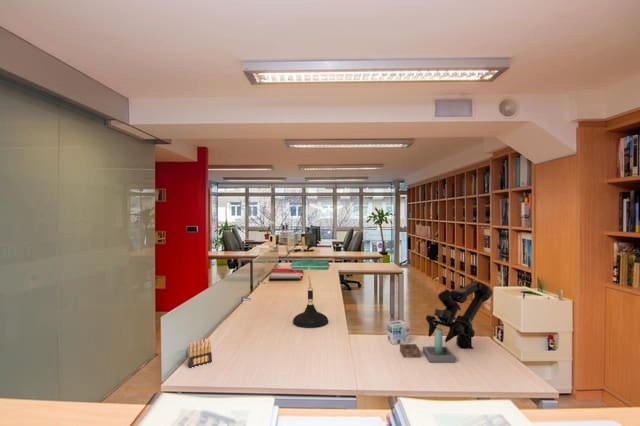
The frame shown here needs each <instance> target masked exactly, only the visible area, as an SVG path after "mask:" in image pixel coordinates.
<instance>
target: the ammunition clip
mask: <svg viewBox="0 0 640 426" xmlns="http://www.w3.org/2000/svg"><path fill="white" fill-rule="evenodd" d="M188 345H189V346H188V357H187V358H188V362H187V363H188V364H187V367H189V368H190V369H193V368H196V367H195V366H197V367H200V366H199V365H201V366H204V365H208V364H212V363H213V355H212V341H211V337H208V340H207V337H205V339H204V340H203V338H201V341H200V340H199V339H197V342H196V340H194V341H193V342H192V341H189V344H188ZM211 362H212V363H211ZM207 363H208V364H207ZM203 364H204V365H203ZM192 367H193V368H192ZM189 368H188V369H189Z"/></svg>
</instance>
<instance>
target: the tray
mask: <svg viewBox="0 0 640 426" xmlns="http://www.w3.org/2000/svg"><path fill="white" fill-rule="evenodd" d="M422 354H423V355H424V357H425V358H426V359H427V361H428V362H429V363H430V364H432V363H435V364H439V363H441V364H452V363H453V364H454V363H456V356H455V354H454V353H453V352H452V351H451V350H450V348H449V347H448V346H442V356H435V346H422Z"/></svg>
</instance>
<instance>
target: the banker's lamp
mask: <svg viewBox="0 0 640 426" xmlns="http://www.w3.org/2000/svg"><path fill="white" fill-rule="evenodd" d="M329 262H330V261H328V260H320V259H319V260H316V259H315V260H314V259H313V260H308V259H307V260H292V261H291V264H290V265H289V267H290V268H291V271H292V270H293V271H307V278H308V282H309V285H308V287H307V301H308V302H307V304H306V307H305V308H304V311H303V312H301V313H298V314H296V316H294V317H293V320H292V324H293V325H294V326H296V327H298V328H302V329H303V328H304V329H316V328H322V327H324V326H326V325H328V324H329V319H328V317H327V316H326V314H323V313H322V312H318V310H317V309H316V308H315V305H314V302H313V301H314V289H313V287H312V283H311V279H310V271H328V270H329V269H330V268H331V264H330V263H329Z"/></svg>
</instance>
